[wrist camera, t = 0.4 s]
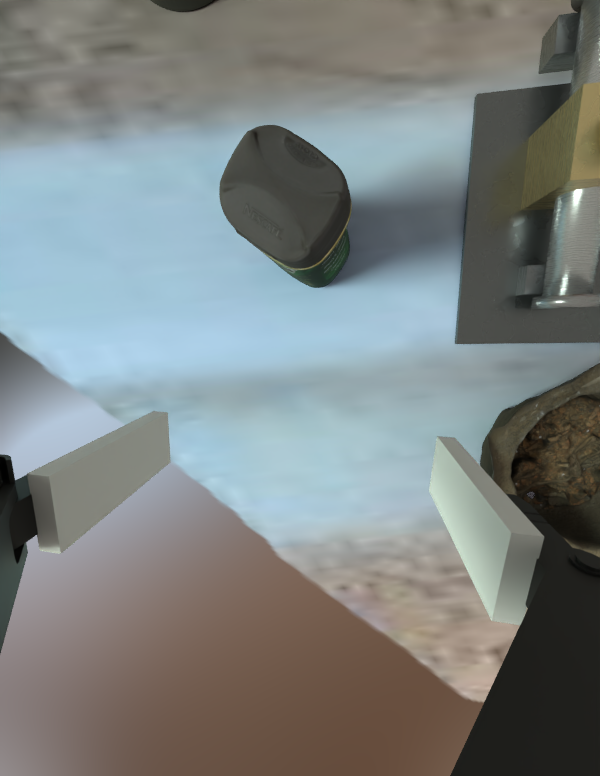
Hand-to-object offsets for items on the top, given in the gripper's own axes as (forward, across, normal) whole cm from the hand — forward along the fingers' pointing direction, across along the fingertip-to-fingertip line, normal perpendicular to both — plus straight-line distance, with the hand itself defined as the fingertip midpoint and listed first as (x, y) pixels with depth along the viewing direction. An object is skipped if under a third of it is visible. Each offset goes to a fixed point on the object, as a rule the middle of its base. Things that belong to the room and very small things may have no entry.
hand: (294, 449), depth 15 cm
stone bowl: (+28, +31, -9) cm, 43 cm away
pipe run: (+28, +26, +20) cm, 43 cm away
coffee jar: (+28, -3, +14) cm, 32 cm away
